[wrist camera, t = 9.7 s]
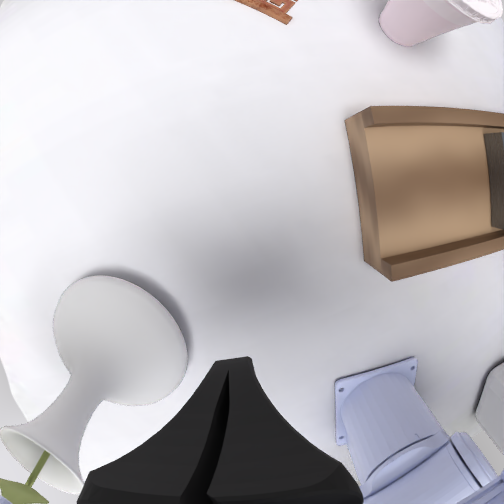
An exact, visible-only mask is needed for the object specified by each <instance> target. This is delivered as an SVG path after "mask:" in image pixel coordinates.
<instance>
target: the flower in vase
mask: <svg viewBox="0 0 504 504" xmlns="http://www.w3.org/2000/svg"><path fill="white" fill-rule="evenodd" d="M53 332H54V338H55V342H56V346H57V349H58V352H59V355H60V357H61V359H62V361H63V363H64V365H65V366H66V368H67V370H68V371H69V372H70V374H71V377H70V379H69V382H68V384H67V385H66V387H65V388H64V390H63V391H62V393H61V394H60V395H59V396H58V397H57V399H56V400H55V401H54V402H53V403H52V404H51V405H50V406H49V407H48V408H47V409H46V410H45V411H44V412H43V413H42V414H40V415H39V416H38V417H36V418H35V419H34V420H32V421H29V422H27V423H25V424H21V425H17V426H4V427H2V428H1V429H0V437H1V440H2V442H3V444H4V445H5V447H6V449H7V450H8V451H9V452H10V454H11V455H12V456H13V457H14V458H15V459H16V460H17V461H18V462H19V463H20V464H21V465H22V466H23V467H24V468H25V469H26V470H27V471H29V472H30V473H31V475H30V476H29V478H28V480H27V482H26V484H25V485H24V484H22V483H18V482H13V481H8V480H4V479H1V478H0V489H1V493H2V496H3V497H4V498H6V499H7V500H9V501H10V502H11V503H12V504H32V503H41V504H48V503H49V502H48V501H47V500H46V499H45V498H44V497H43V496H41V495H40V494H39V493H38V492H37V491H36V490H34V489H33V488H31V487H32V485H33V483H34V482H35V480H36V478H38V479H40V480H41V481H43V482H44V483H46V484H48V485H50V486H52V487H54V488H56V489H58V490H61V491H63V492H67V493H71V494H80V493H81V491H82V488H83V486H84V482H83V479H82V476H81V473H80V468H79V450H80V445H81V440H82V437H83V434H84V431H85V429H86V426H87V424H88V422H89V420H90V418H91V416H92V414H93V412H94V411H95V409H96V408H97V406H98V405H99V404H100V403H101V402H102V401H103V400H106V401H109V402H112V403H115V404H119V405H127V406H142V405H149V404H153V403H156V402H158V401H161V400H162V399H164V398H166V397H167V396H168V395H170V394H171V393H172V392H173V391H174V390H175V389H176V388H177V387H178V386H179V385H180V383H181V382H182V380H183V378H184V376H185V372H186V369H187V362H188V360H187V349H186V344H185V341H184V338H183V335H182V333H181V331H180V328H179V326H178V325H177V323H176V321H175V320H174V318H173V317H172V315H171V314H170V313H169V312H168V310H167V309H166V308H165V307H164V306H163V305H162V304H161V303H160V302H159V301H158V300H157V299H156V298H154V297H153V296H152V295H151V294H150V293H148V292H147V291H145V290H144V289H142V288H141V287H139V286H137V285H135V284H133V283H131V282H128V281H126V280H123V279H120V278H116V277H112V276H104V275H98V276H90V277H85V278H82V279H80V280H78V281H76V282H74V283H73V284H71V285H70V286H69V287H68V288H67V289H66V290H65V291H64V293H63V294H62V296H61V298H60V299H59V301H58V304H57V307H56V310H55V313H54V318H53Z"/></svg>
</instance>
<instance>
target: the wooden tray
mask: <svg viewBox="0 0 504 504" xmlns="http://www.w3.org/2000/svg"><path fill="white" fill-rule="evenodd" d="M345 124H346V129H347V134H348V139H349V145H350V150H351V156H352V162H353V168H354V174H355V181H356V188H357V195H358V203H359V211H360V220H361V229H362V239H363V251H364V261H365V262H366V263H368V264H369V265H370V266H372V267H373V268H374V269H376V270H377V271H378V272H380V273H381V274H382V275H384V276H385V277H386V278H388V279H389V280H390V281H396V280H400V279H404V278H408V277H412V276H415V275H419V274H423V273H427V272H430V271H434V270H437V269H441V268H445V267H448V266H452V265H455V264H458V263H462V262H465V261H469V260H472V259H475V258H478V257H482V256H485V255H488V254H491V253H494V252H497V251H500V250H503V249H504V230H502V229H498V228H495V227H492V220H491V192H490V179H489V168H488V160H487V152H486V145H485V139H484V134H487V133H498V132H504V114H501V113H495V112H487V111H479V110H470V109H459V108H445V107H426V106H370V107H368V108H367V109H365V110H363V111H361V112H359V113H357V114H355V115H354V116H352V117H350V118H348V119H346V120H345Z"/></svg>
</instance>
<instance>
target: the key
mask: <svg viewBox="0 0 504 504" xmlns="http://www.w3.org/2000/svg"><path fill="white" fill-rule="evenodd" d="M235 1H237V2H240V3H242V4H244V5H247V6H249V7H251V8H253V9H256V10H258V11H260V12H262V13H264V14H266V15H268V16H270V17H272V18H274V19H276V20H278V21H280V22H282V23H284V24H286V25H287V24H288V22H289V21H290V20H291V19H292V17H291V16H289V15H287V14H286V13H287V12H288V11H289V9H290V8H291V7H292V6H293V5H294V4H295V2H293V1H291V0H270V2H271V3H273V4H275V5H277V6H280V5H281V4H282V3H284V5H283V6H282V7H281V8H279V7H277V6H275V5H272V4H270V3H268V2H266V1H267V0H235ZM294 1H296V2H297V1H298V0H294Z"/></svg>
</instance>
